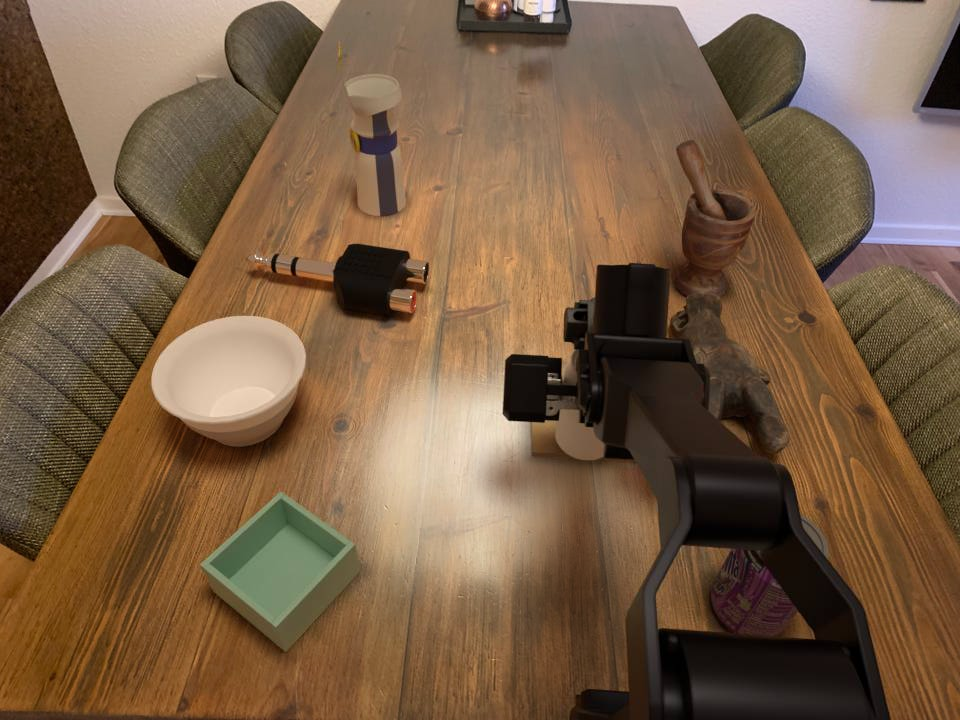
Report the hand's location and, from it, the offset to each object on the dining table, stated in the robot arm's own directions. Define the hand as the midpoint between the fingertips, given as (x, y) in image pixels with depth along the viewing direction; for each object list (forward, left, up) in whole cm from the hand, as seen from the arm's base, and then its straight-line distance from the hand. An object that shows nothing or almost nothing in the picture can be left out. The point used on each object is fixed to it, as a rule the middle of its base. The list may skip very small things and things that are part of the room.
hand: (591, 389), depth 74 cm
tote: (-6, +34, -9) cm, 36 cm away
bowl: (+16, +35, -9) cm, 39 cm away
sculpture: (+1, -19, -9) cm, 21 cm away
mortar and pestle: (+21, -27, -9) cm, 35 cm away
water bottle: (+54, +9, -9) cm, 55 cm away
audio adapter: (+36, +21, -9) cm, 42 cm away
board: (+4, -2, -9) cm, 10 cm away
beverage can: (-23, -6, -9) cm, 25 cm away
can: (-1, +1, -7) cm, 7 cm away
